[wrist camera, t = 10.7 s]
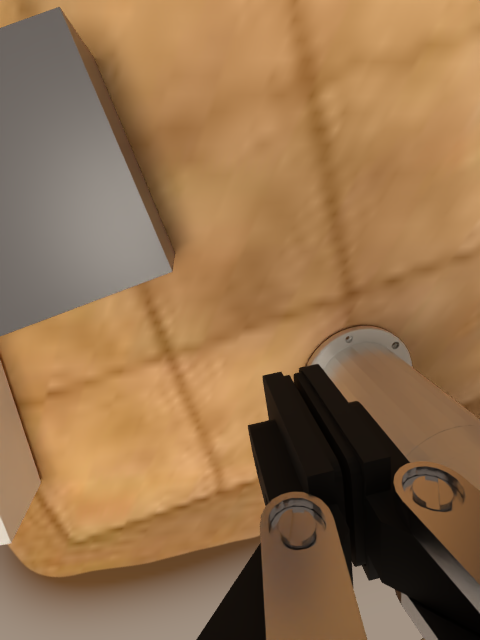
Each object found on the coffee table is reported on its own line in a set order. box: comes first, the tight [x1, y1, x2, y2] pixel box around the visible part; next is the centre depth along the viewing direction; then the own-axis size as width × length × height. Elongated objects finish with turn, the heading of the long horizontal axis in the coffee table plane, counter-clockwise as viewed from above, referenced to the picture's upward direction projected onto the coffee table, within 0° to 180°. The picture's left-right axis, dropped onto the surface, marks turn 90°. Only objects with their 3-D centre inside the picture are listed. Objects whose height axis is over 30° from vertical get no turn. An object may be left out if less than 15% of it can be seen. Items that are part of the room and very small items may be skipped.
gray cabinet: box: [0, 7, 175, 336], centre depth 26 cm, size 16×20×8 cm
